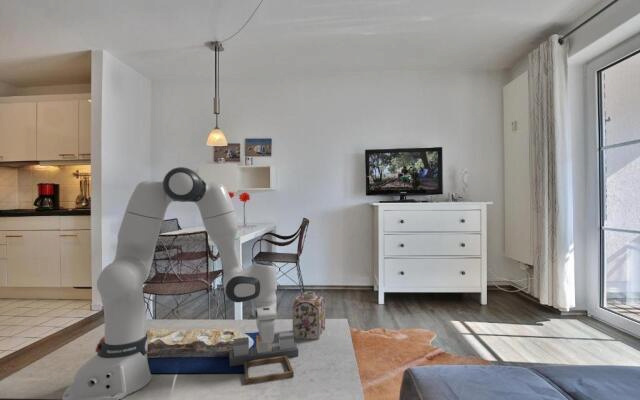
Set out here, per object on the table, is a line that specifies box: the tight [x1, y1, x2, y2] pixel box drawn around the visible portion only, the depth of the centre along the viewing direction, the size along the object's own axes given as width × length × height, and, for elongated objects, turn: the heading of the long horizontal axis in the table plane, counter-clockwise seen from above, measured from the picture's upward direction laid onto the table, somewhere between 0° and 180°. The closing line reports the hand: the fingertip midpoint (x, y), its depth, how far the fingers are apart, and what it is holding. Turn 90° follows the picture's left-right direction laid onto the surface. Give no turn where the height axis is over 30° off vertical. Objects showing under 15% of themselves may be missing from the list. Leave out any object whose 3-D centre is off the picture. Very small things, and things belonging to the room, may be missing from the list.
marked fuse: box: [255, 334, 273, 354], centre depth 114 cm, size 5×3×7 cm, turn 107°
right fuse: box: [278, 331, 295, 350], centre depth 116 cm, size 5×3×7 cm, turn 107°
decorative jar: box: [292, 291, 326, 340], centre depth 136 cm, size 12×12×18 cm
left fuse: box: [233, 337, 250, 357], centre depth 112 cm, size 5×3×7 cm, turn 107°
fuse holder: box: [229, 342, 299, 367], centre depth 114 cm, size 24×6×4 cm, turn 107°
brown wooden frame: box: [243, 356, 295, 385], centre depth 105 cm, size 15×12×2 cm
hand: (263, 346), depth 114 cm, fingers closed on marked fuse, 3 cm apart
